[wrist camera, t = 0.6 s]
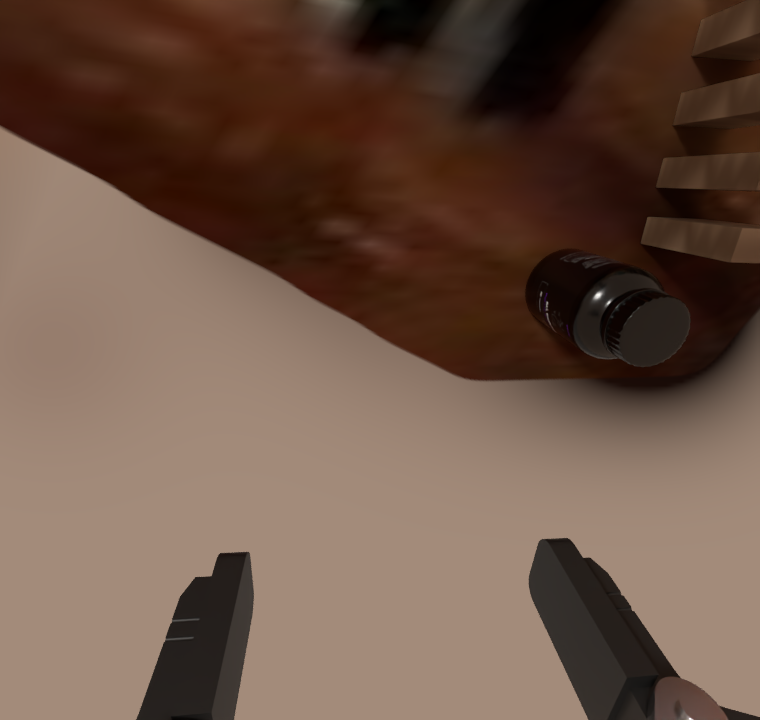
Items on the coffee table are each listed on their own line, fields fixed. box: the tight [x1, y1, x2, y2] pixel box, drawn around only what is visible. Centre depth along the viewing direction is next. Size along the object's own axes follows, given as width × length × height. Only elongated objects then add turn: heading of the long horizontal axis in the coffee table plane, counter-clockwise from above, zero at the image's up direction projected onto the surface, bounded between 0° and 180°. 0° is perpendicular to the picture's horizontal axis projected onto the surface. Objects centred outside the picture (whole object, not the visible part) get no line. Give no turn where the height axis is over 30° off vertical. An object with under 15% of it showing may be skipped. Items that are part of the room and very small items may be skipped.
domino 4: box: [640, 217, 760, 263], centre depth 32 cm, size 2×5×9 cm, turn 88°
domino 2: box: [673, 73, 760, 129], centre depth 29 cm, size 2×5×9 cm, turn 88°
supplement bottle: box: [525, 249, 691, 367], centre depth 32 cm, size 7×7×12 cm
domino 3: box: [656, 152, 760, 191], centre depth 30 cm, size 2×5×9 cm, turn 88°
